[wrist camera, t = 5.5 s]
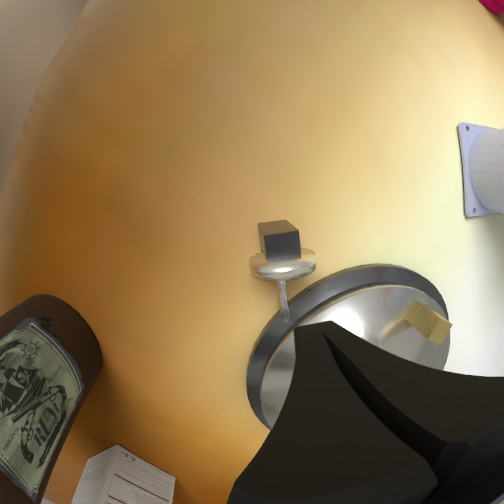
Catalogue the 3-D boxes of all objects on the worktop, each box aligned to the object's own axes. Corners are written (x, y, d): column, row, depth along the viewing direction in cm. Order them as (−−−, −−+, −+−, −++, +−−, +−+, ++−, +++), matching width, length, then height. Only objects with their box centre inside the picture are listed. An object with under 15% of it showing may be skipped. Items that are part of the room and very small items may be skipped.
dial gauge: (299, 217, 18) (321, 231, 13) (307, 308, 20) (326, 345, 15) (243, 225, 18) (246, 242, 13) (257, 316, 20) (263, 356, 15)
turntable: (469, 317, 20) (497, 338, 16) (372, 444, 23) (385, 472, 19) (330, 242, 17) (357, 262, 13) (226, 421, 21) (225, 460, 17)
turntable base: (454, 246, 19) (460, 249, 18) (424, 406, 24) (427, 411, 23) (227, 286, 19) (226, 290, 18) (261, 451, 24) (261, 456, 23)
